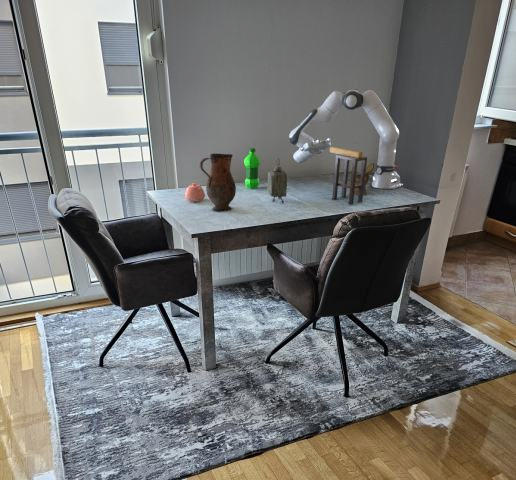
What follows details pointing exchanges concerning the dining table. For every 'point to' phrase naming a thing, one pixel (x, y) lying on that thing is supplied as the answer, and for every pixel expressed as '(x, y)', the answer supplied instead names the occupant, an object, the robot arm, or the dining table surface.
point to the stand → (353, 177)
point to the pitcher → (220, 181)
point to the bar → (346, 152)
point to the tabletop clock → (277, 183)
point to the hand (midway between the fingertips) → (324, 140)
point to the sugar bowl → (194, 193)
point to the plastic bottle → (252, 169)
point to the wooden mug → (365, 179)
